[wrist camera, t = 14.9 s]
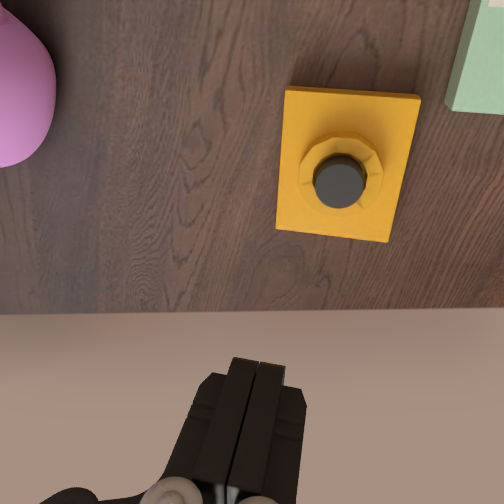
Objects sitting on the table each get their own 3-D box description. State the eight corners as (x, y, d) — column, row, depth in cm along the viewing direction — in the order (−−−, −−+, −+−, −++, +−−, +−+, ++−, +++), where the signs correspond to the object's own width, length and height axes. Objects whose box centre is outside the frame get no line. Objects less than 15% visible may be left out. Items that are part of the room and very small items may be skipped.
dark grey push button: (359, 201, 33) (359, 211, 31) (314, 196, 33) (312, 206, 32) (367, 157, 31) (367, 166, 29) (319, 153, 32) (317, 161, 30)
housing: (386, 231, 37) (389, 253, 34) (279, 218, 39) (272, 238, 36) (417, 94, 31) (425, 104, 28) (288, 85, 33) (281, 93, 30)
